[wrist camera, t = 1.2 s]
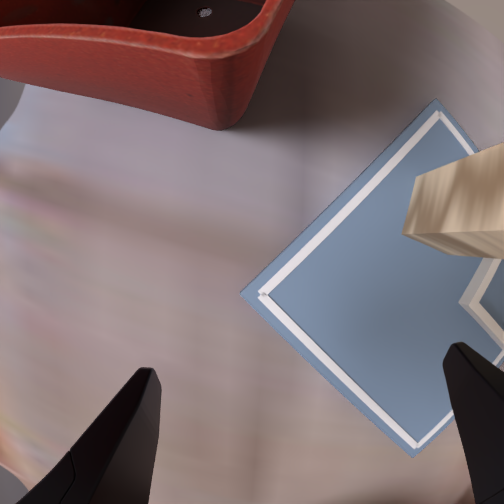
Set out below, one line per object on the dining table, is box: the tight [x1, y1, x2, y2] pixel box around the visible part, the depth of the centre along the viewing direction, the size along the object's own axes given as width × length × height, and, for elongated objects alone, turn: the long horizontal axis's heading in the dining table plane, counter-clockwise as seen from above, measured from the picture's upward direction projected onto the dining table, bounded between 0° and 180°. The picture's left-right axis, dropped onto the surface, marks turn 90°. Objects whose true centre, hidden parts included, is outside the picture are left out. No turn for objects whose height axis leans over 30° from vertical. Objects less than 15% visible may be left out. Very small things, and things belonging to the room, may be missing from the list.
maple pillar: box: [401, 142, 504, 259], centre depth 15 cm, size 4×4×12 cm
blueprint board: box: [240, 98, 504, 458], centre depth 22 cm, size 22×22×1 cm
